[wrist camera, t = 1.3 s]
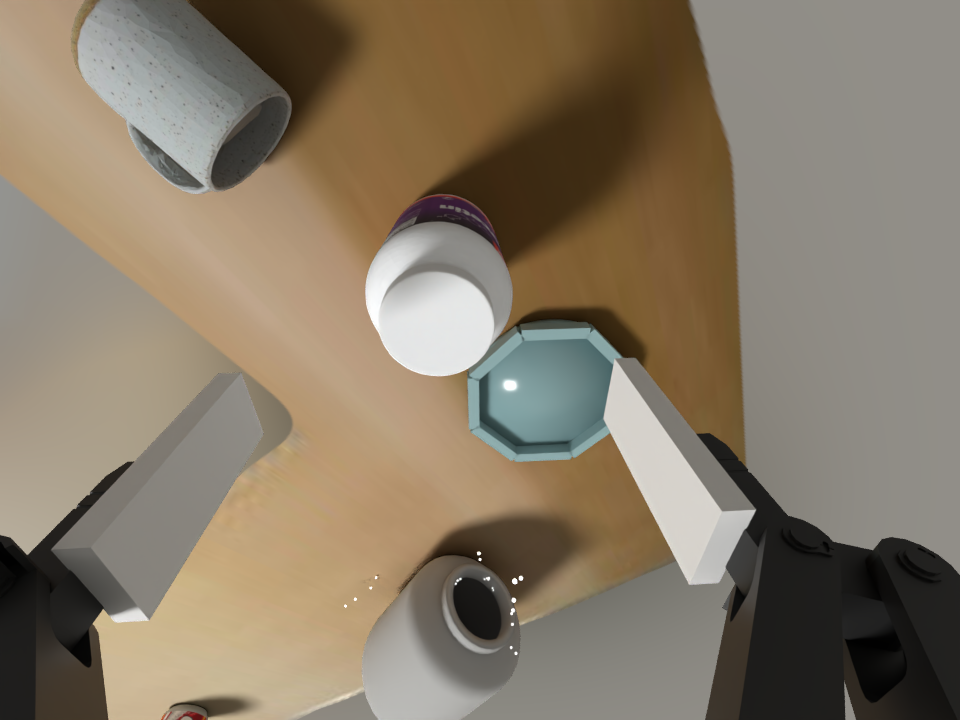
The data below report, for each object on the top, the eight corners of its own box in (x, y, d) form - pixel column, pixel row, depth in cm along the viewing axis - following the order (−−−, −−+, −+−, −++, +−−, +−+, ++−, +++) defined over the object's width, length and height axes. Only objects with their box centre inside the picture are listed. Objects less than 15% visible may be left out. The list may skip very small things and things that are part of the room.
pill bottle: (516, 249, 32) (557, 331, 19) (444, 313, 34) (439, 422, 22) (444, 165, 28) (438, 199, 16) (369, 243, 31) (314, 325, 18)
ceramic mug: (183, -18, 23) (77, -69, 16) (308, 96, 26) (259, 90, 19) (118, 133, 26) (11, 139, 20) (234, 217, 29) (172, 245, 23)
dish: (465, 321, 34) (466, 332, 33) (635, 316, 35) (644, 326, 33) (469, 450, 42) (470, 464, 40) (608, 443, 43) (614, 456, 41)
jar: (315, 619, 48) (438, 542, 37) (399, 556, 61) (512, 484, 49) (392, 783, 44) (562, 757, 32) (466, 679, 56) (608, 632, 44)
